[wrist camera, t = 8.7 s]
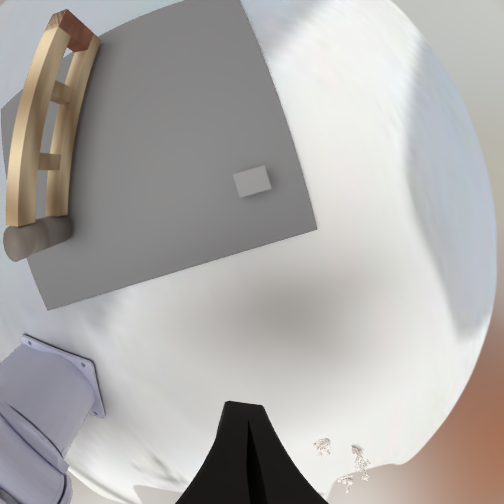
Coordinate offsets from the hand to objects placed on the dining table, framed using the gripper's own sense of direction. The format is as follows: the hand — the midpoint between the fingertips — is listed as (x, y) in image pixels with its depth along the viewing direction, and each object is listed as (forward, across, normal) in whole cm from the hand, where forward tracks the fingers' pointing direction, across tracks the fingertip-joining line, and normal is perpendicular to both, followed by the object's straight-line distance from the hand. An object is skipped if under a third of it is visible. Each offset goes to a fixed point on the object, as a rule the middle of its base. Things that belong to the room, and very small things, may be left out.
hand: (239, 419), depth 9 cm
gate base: (+10, +11, -9) cm, 18 cm away
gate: (+9, +14, -9) cm, 19 cm away
